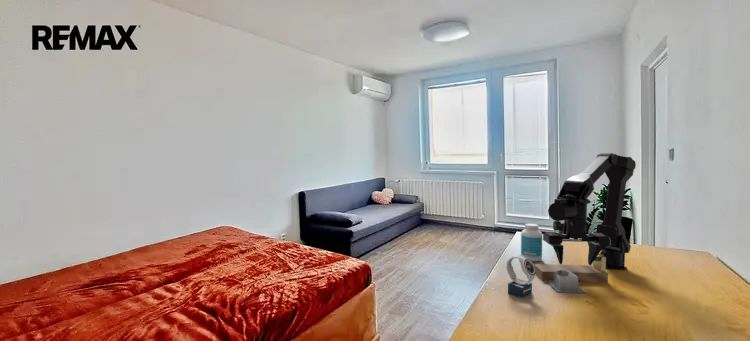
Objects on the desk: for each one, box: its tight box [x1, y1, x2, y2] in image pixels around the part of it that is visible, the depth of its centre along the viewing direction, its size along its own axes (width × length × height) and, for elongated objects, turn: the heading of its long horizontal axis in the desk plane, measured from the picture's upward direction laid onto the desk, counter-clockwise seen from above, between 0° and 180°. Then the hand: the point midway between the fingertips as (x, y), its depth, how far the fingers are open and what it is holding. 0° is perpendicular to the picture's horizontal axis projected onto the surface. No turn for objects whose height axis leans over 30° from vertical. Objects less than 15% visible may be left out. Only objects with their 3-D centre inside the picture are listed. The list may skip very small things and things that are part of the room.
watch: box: [505, 255, 536, 299], centre depth 99 cm, size 6×8×11 cm
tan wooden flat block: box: [592, 253, 607, 272], centre depth 110 cm, size 2×5×5 cm, turn 174°
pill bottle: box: [520, 223, 543, 263], centre depth 129 cm, size 8×7×14 cm
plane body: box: [533, 263, 609, 283], centre depth 111 cm, size 20×7×3 cm, turn 84°
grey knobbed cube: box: [553, 270, 579, 290], centre depth 103 cm, size 5×5×5 cm
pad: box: [545, 281, 586, 294], centre depth 103 cm, size 8×8×1 cm
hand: (575, 264), depth 111 cm, fingers open, 9 cm apart
